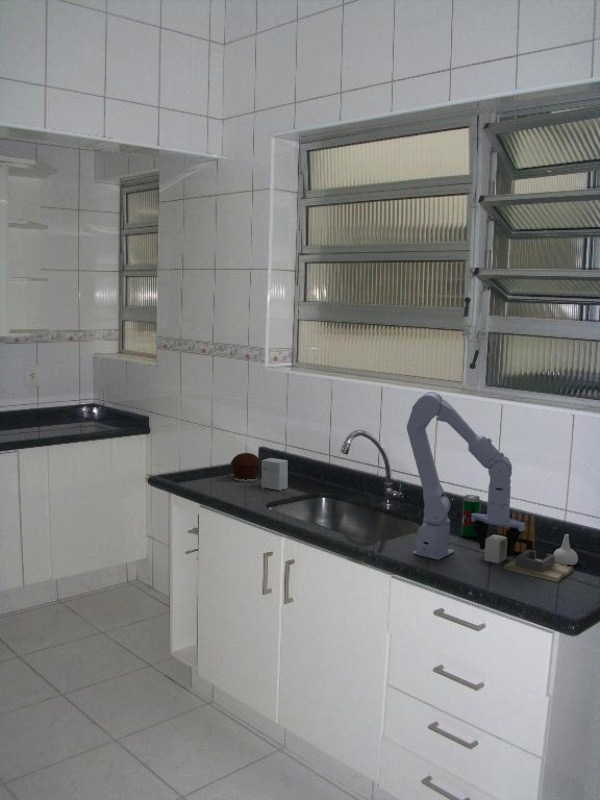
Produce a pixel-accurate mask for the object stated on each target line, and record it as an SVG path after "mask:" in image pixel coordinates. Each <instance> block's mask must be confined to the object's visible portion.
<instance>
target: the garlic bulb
mask: <svg viewBox="0 0 600 800" xmlns="http://www.w3.org/2000/svg"><path fill="white" fill-rule="evenodd" d="M569 535H570V534H568V533H566V534H564V537H563V538H562V539H563V540H562V543H561V546H560V548H557V549H556V550H555V551H554V552H553V554H552V555H555V563H557V564H562V565H566V566H567V565H571V566H575V565H577V563H578V560H579V557H578V553H577V551H575V549H572V548H571V545H570V536H569Z"/></svg>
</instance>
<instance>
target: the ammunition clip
mask: <svg viewBox="0 0 600 800" xmlns="http://www.w3.org/2000/svg"><path fill="white" fill-rule="evenodd" d="M509 518H510V519H513V520H516V521H519V522H523V523H525V530H524V531H522V533H521V534H520V536H519V538H518V539H517V541H516V544H515V546H514V549H513V553H512V555H511V556H515V557H516V556H518V555H520V554H522V553H523V552H525V551H527V550H533V551H536V539H535V538H536V530H535V528H536V526H535V522H536V519H535V515H534V514H532V515H531V518H530V522H529V515H528V513H526V514H525V515H524V519H523V515H522V513H521V512H519V513H518V517H517V514H516V511H513V512H512V516H511V513H510V512H509ZM507 530H510V528H506V527H501V526H497V534H496V535H501V536H505V537H507V535H506V531H507Z"/></svg>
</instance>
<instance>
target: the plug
mask: <svg viewBox="0 0 600 800" xmlns="http://www.w3.org/2000/svg"><path fill="white" fill-rule="evenodd" d="M506 560H507V537H505V536H501V535H497V534H491V535H490V536H487V538H486V541H485V549H484V561H486V562H491V563H494V564H500V563H502V562H504V561H506Z"/></svg>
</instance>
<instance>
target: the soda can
mask: <svg viewBox="0 0 600 800" xmlns="http://www.w3.org/2000/svg"><path fill="white" fill-rule="evenodd" d="M462 500H463V501H462V519H461V535H462V536H463V537H465V538H467V539H476V538H478V537H477V534H476V532H475V530H474V528H473V524H475V522H473V521H471V516H472V514H473V513H478V514H481V508H482V507H481V504H482V503H481V502H482V501H481V498H480V496H479V495H477V494H476V495H475V494H466V495H464V498H463V499H462Z"/></svg>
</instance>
